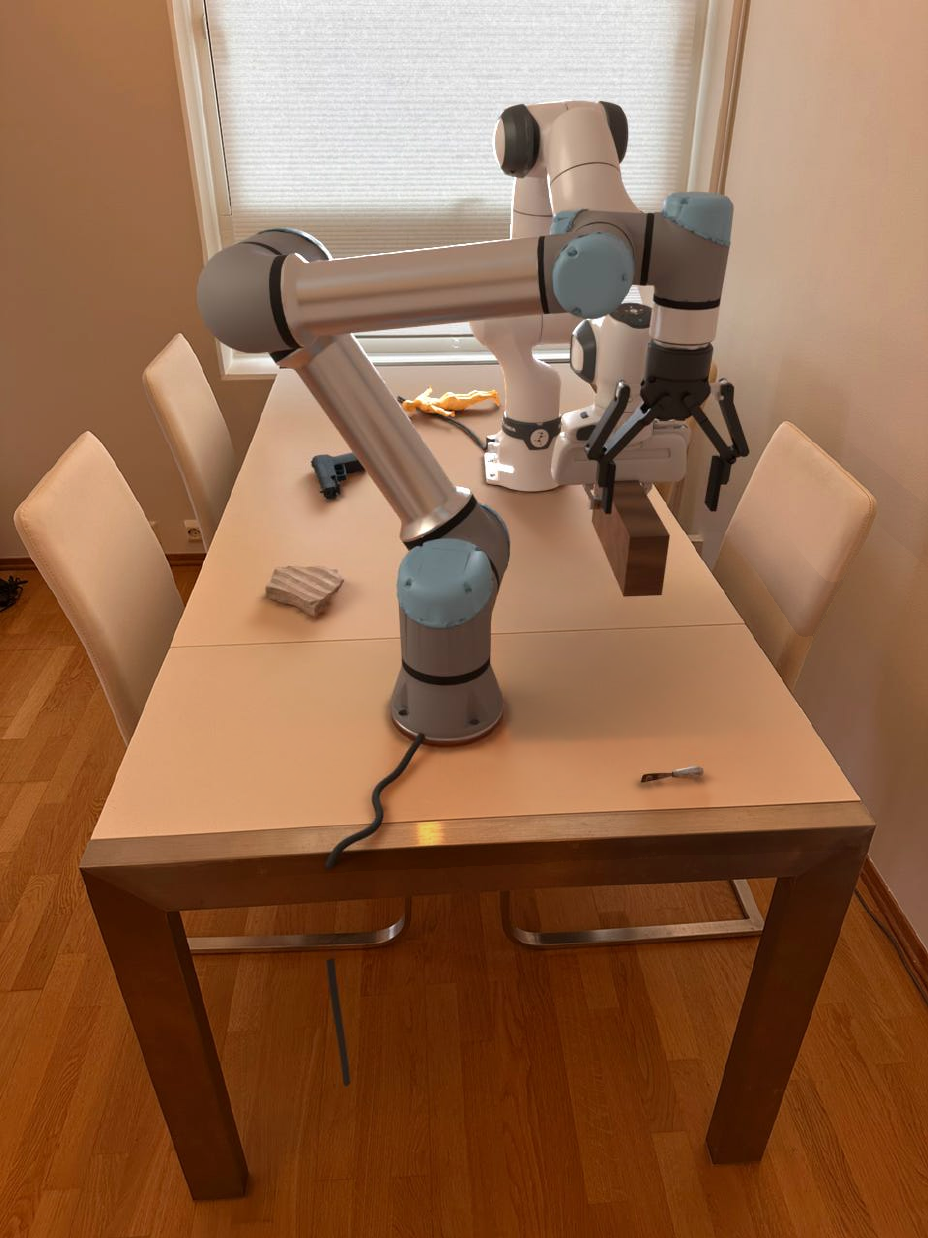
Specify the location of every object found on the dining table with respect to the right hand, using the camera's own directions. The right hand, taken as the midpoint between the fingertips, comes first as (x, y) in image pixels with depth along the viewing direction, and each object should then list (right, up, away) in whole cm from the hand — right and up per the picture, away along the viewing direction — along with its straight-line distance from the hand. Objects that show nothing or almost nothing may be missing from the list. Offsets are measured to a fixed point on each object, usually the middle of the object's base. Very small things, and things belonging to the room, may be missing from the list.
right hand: (614, 507), depth 138 cm
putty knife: (+2, -37, -29) cm, 47 cm away
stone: (-50, -14, +9) cm, 52 cm away
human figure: (-27, +36, +88) cm, 98 cm away
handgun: (-49, +12, +50) cm, 70 cm away
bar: (+1, -8, -5) cm, 9 cm away
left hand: (+2, -3, -24) cm, 24 cm away
